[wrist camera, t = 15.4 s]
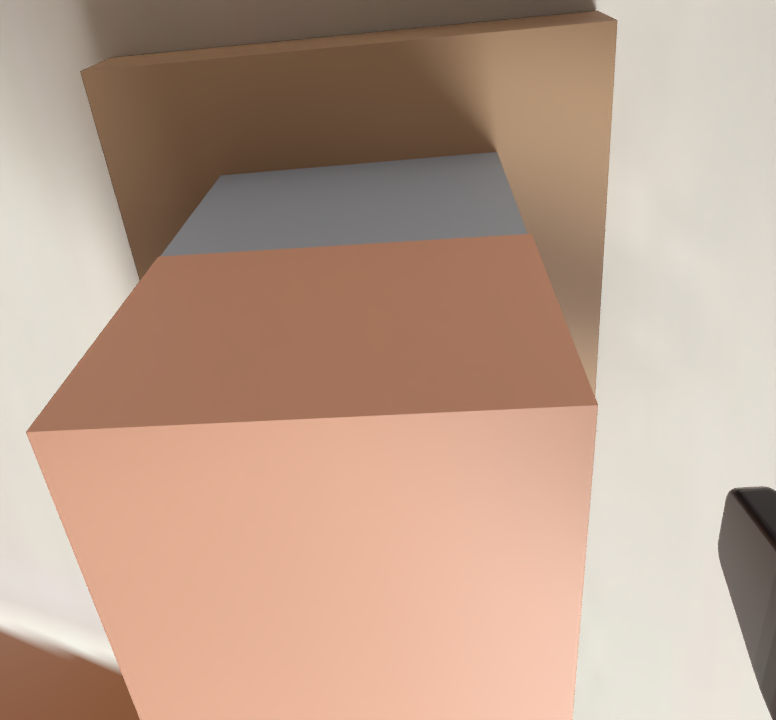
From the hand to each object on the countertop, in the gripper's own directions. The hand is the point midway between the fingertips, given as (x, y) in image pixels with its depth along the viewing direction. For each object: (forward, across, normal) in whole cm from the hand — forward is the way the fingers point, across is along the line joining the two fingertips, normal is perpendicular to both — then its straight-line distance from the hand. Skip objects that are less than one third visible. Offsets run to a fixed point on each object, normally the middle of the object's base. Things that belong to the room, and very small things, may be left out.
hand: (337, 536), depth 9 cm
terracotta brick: (+3, 0, 0) cm, 3 cm away
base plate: (+8, 0, 0) cm, 8 cm away
